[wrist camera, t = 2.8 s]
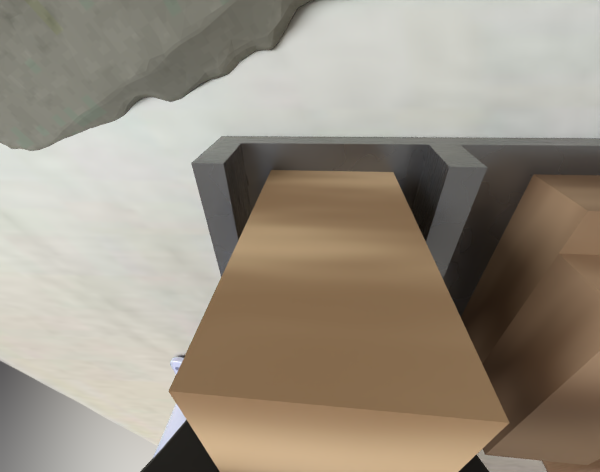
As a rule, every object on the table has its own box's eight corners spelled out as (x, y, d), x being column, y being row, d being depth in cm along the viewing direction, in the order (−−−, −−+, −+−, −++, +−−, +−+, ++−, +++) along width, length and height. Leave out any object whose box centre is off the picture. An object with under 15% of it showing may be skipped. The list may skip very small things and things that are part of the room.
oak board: (358, 355, 17) (375, 550, 10) (286, 349, 17) (260, 534, 11) (393, 171, 10) (509, 422, 3) (270, 170, 10) (169, 391, 4)
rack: (558, 367, 17) (593, 417, 15) (260, 345, 19) (250, 387, 16) (789, 139, 9) (947, 173, 7) (221, 136, 11) (191, 163, 8)
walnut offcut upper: (548, 400, 13) (587, 465, 11) (462, 392, 14) (485, 454, 12) (706, 259, 8) (833, 333, 6) (558, 253, 8) (631, 322, 6)
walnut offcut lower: (508, 366, 16) (533, 413, 14) (438, 361, 16) (453, 406, 14) (661, 176, 9) (755, 215, 7) (533, 174, 9) (587, 211, 7)
